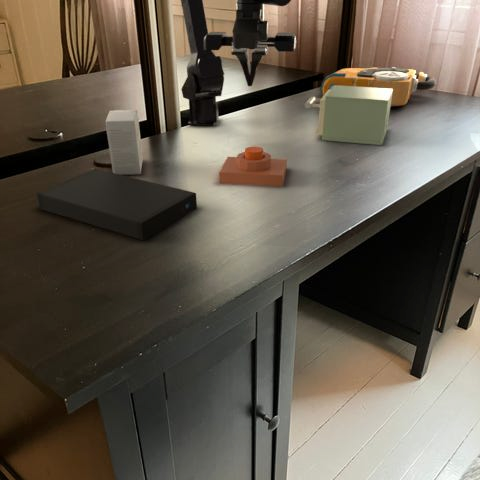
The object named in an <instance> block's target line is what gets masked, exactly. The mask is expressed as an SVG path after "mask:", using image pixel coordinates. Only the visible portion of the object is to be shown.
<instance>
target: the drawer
mask: <svg viewBox="0 0 480 480" xmlns="http://www.w3.org/2000/svg"><path fill="white" fill-rule="evenodd" d="M329 92H330V90H328V91H327V92H326V93H325V95H324V96H322V97H321V98H317V97H315V96H310V98H308V100H307V101H306V102H305V103H304V108H306V109H310V108H319V110H318V111H319V112H318V126H317V128H318V129H317V135H318V136H322V134H323V121H324V109H325V97H326V95H327V94H328V93H329Z"/></svg>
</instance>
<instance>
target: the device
mask: <svg viewBox="0 0 480 480" xmlns="http://www.w3.org/2000/svg"><path fill="white" fill-rule="evenodd" d="M436 84H437V81H436V78H435V77H433V76H428V74H427V73H424V72H422V71H420V72H419V73H416V70H415V69H409V68H408V69H407V68H400V67H399V68H398V67H395V66H392V67H367V68H363V67H347V68H341V69H340V70H337V71H335V72H333V73H331V74H329V75H327V76H326V77H325V78H324V79H323V81H322V83H321V86H320V92H321V96H322V97H323V96H324V95H325V93H326V92H327V91H328V90H331V89H332V88H333V87H334V85H339V86H356V87H372V88H389V89H393V92H392V100H391V106H390V108H391V107H400V106H406V105H407V104H408V100H410V97H411V95H413V94H414V92H417V91H424V90H431V89H433V88H434V87H435V86H436Z"/></svg>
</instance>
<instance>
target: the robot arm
mask: <svg viewBox="0 0 480 480" xmlns="http://www.w3.org/2000/svg"><path fill="white" fill-rule="evenodd" d="M290 2H292V0H235V20H234V24H233V27H232V35H227V31H209V30H208V24H207V18H206V12H205V5H204V1H203V0H180V4H181V9H182V15H183V21H184V26H185V31H186V37H187V43H188V46H189V52H190V55H189V58H188V61H187V65H186V75H187V77H186V79H185V80H184V82H183V85H182V87H181V88H180V89H181V94H182V98H183V99H186V100H188V107H189V108H188V109H189V121H188V123H187V124H188V125H189V126H204V127H207V126H208V127H213V126H215V125H216V123H217V122H218V120H219V102H217V97H222V93H223V88H224V82H225V72H224V68H223V60H222V58H221V56H220V55H217V56H216V54H215V53H214V52H213V51H219V50H220V49H221V48H222V47H231V51H230V53H231V56H235V57H236V58H237V60H238V62H239V63H240V65H241V68H242V71H243V74H244V79H245V81H246V84H247V87H253V84H254V80H255V78H256V74H257V71H258V68H259V64H260V63H261V60H262V58H263V57H264V56H267V55H268V53H269V47H270V48H275V49H276V51H277V52H283V53H284V52H285V53H289V52H291V53H292V52H295V50H296V47H297V35H296V34H295V33H294V32H277V33H276V34H275V36H269V22H268V20H265V5H266V6H267V5H268V6H275V7H285V6H288V5H289V4H290ZM250 50H253V51H252V52H251V60H250ZM250 61H251V62H250Z"/></svg>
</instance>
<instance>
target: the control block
mask: <svg viewBox="0 0 480 480" xmlns="http://www.w3.org/2000/svg"><path fill="white" fill-rule="evenodd" d="M287 166H288V159H287V158H272V155H271V153H269V152H265V151H264V155H263V159H260V160H248V159H245V151H242V152H240V153H238V154H237V156H227V157H226V159H225V161H224V163H223V165H222V166H221V168H220V170H219V173H218V175H219V184H228V185H246V186H247V185H248V186H266V187H267V186H268V187H283V186H284V181H285V177H286V173H287Z"/></svg>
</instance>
